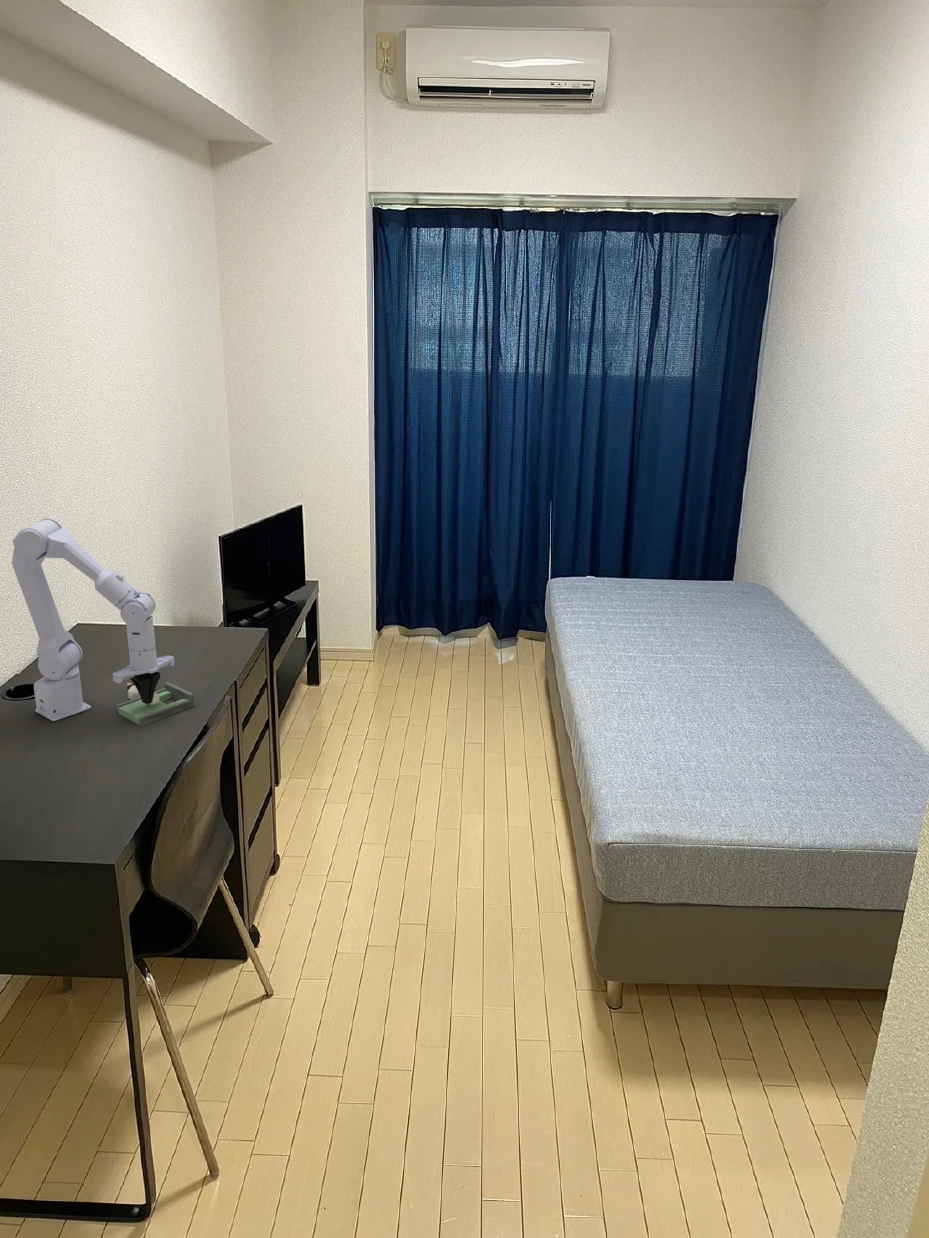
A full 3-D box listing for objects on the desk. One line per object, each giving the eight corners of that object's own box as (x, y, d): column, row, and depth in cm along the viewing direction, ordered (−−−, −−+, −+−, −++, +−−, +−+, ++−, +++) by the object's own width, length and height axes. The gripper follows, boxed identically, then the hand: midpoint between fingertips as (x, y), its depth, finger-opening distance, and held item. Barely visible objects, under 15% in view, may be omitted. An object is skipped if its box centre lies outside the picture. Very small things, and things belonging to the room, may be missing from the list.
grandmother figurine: (141, 685, 227) (123, 709, 215) (133, 672, 226) (114, 695, 214) (167, 673, 226) (151, 697, 214) (159, 661, 225) (142, 684, 213)
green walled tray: (141, 726, 203) (140, 713, 202) (116, 713, 209) (115, 700, 207) (194, 706, 213) (193, 693, 212) (169, 694, 219) (168, 682, 218)
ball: (149, 695, 207) (162, 693, 209) (142, 690, 209) (155, 689, 211) (148, 708, 207) (161, 706, 210) (141, 703, 209) (154, 701, 212)
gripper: (123, 660, 196) (129, 717, 201) (180, 642, 207) (185, 696, 211) (105, 652, 200) (111, 708, 205) (162, 635, 211) (167, 688, 215)
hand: (147, 702), depth 208 cm, fingers closed, pressing on ball
